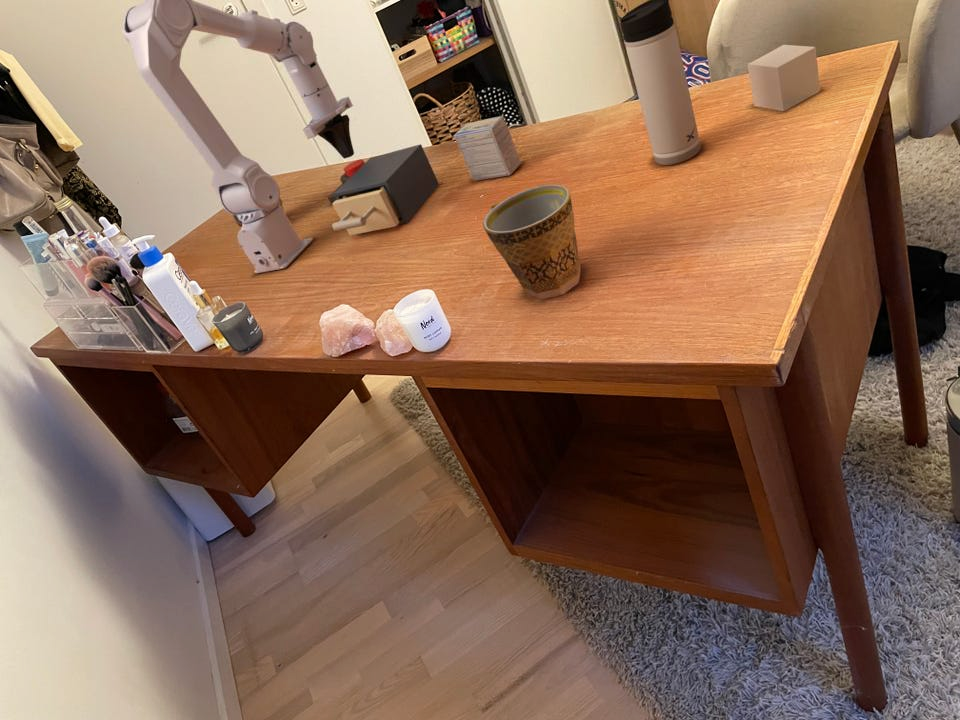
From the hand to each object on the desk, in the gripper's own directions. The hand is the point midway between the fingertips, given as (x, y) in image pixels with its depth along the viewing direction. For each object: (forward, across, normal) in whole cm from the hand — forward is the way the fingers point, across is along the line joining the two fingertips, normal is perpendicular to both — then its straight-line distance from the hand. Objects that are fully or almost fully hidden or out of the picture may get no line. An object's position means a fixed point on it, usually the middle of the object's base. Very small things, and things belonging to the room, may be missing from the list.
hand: (349, 156), depth 137 cm
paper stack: (+7, -9, -35) cm, 37 cm away
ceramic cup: (+7, -45, -56) cm, 72 cm away
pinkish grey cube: (+7, -6, -80) cm, 81 cm away
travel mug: (+7, -17, -67) cm, 69 cm away
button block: (+7, 0, 0) cm, 7 cm away
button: (+4, 0, 0) cm, 4 cm away
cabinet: (+7, -15, -17) cm, 24 cm away
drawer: (+6, -20, -17) cm, 27 cm away
